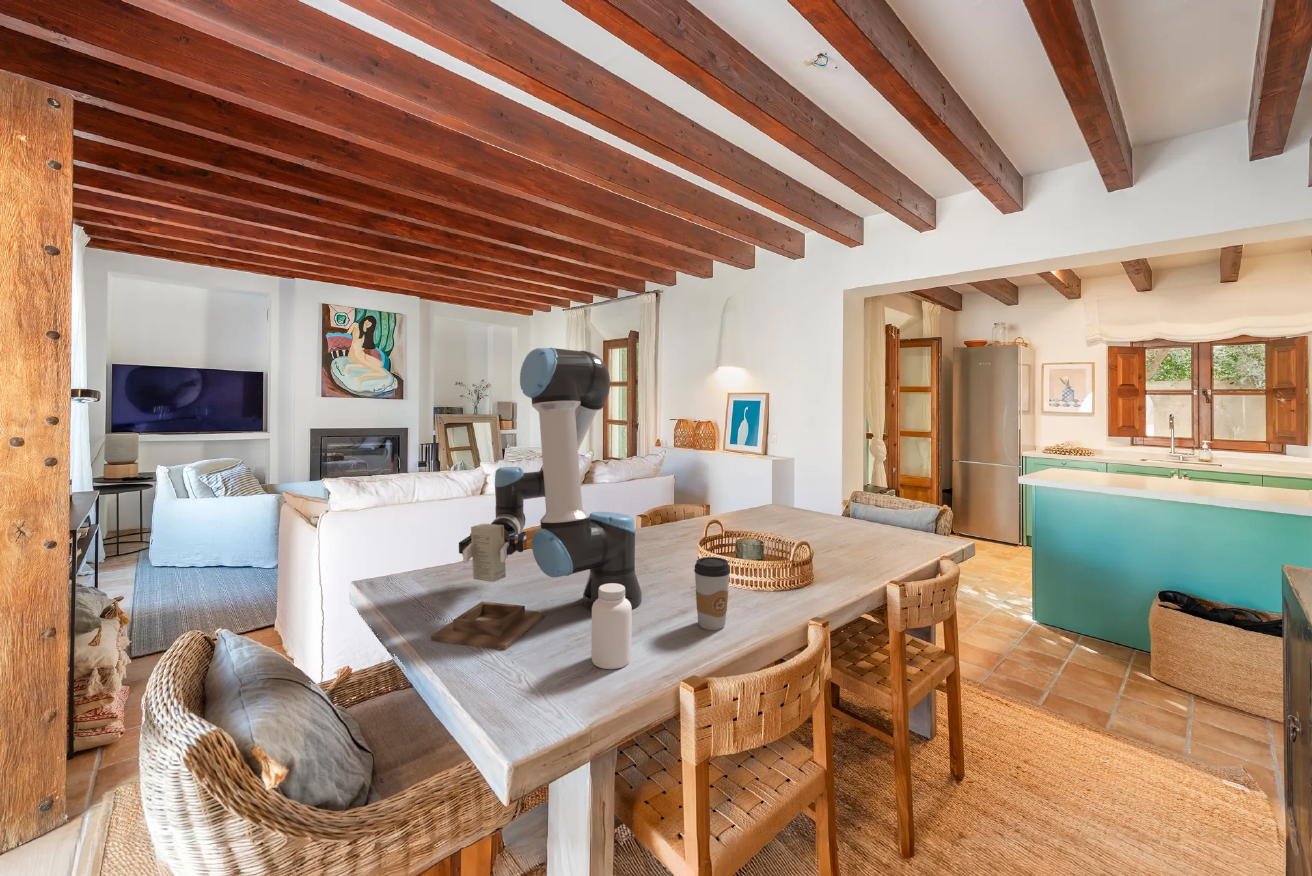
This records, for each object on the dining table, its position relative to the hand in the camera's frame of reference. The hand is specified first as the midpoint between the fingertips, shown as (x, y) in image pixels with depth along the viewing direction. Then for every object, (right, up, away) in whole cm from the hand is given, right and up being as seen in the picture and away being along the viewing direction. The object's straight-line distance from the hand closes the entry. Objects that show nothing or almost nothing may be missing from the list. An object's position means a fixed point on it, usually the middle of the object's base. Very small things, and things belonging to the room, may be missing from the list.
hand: (483, 556), depth 116 cm
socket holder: (0, -18, +6) cm, 18 cm away
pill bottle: (+29, -19, -10) cm, 36 cm away
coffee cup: (+51, -18, +7) cm, 54 cm away
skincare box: (0, -6, +5) cm, 8 cm away
